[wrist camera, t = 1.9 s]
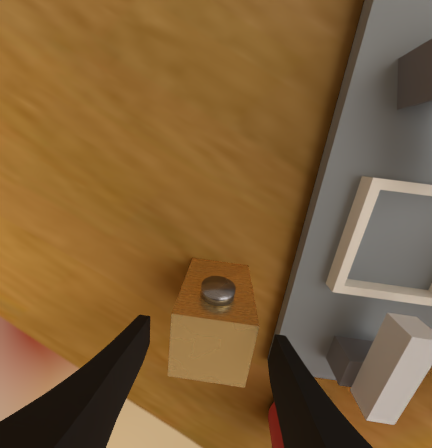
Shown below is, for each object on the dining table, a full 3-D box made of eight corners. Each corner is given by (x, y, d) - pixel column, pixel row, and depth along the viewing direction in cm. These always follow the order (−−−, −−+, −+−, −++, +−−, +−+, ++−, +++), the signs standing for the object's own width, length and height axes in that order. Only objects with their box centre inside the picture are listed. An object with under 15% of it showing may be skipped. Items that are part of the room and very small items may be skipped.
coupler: (249, 258, 15) (261, 316, 10) (238, 316, 17) (243, 394, 11) (193, 250, 15) (171, 303, 10) (187, 309, 17) (167, 383, 12)
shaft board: (613, 10, 10) (955, -123, 5) (400, 379, 18) (460, 456, 13) (368, -15, 10) (485, -162, 6) (267, 359, 18) (280, 427, 14)
